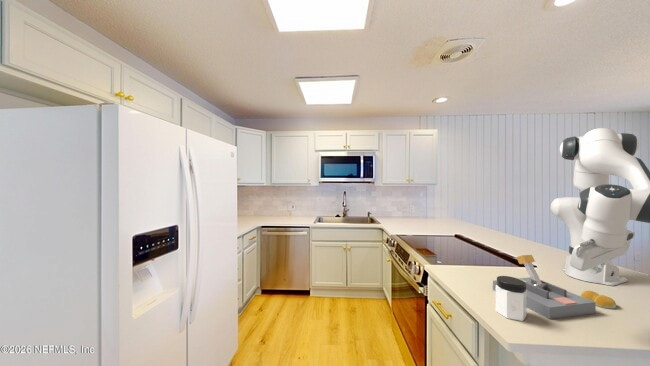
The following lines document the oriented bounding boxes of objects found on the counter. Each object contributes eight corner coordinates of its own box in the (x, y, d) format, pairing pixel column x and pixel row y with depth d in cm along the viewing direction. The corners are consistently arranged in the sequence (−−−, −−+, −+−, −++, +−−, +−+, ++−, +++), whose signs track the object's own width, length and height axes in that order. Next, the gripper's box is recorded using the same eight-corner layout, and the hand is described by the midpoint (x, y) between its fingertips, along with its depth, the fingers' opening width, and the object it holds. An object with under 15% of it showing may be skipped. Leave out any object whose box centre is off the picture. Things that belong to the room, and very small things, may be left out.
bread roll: (610, 311, 85) (610, 300, 85) (576, 300, 94) (576, 290, 94) (621, 307, 88) (621, 296, 88) (587, 296, 97) (587, 286, 97)
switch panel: (531, 286, 106) (531, 271, 105) (595, 313, 84) (595, 295, 84) (492, 289, 102) (493, 274, 102) (549, 319, 80) (549, 300, 80)
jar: (499, 317, 81) (499, 282, 81) (492, 305, 89) (492, 274, 89) (531, 323, 78) (531, 287, 78) (521, 310, 86) (521, 277, 86)
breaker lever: (542, 290, 94) (525, 256, 101) (550, 289, 91) (532, 254, 98) (531, 291, 93) (515, 257, 100) (539, 290, 90) (522, 255, 97)
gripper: (591, 250, 70) (584, 288, 74) (639, 231, 74) (629, 268, 78) (565, 240, 76) (560, 275, 80) (611, 223, 80) (603, 258, 84)
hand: (595, 272), depth 79 cm, fingers closed
